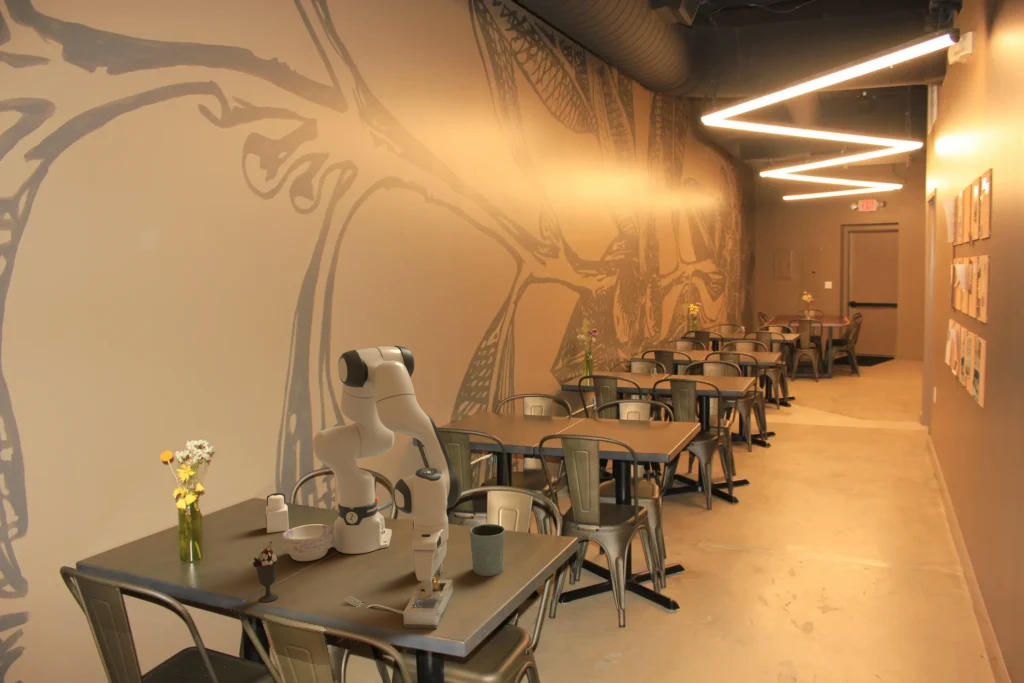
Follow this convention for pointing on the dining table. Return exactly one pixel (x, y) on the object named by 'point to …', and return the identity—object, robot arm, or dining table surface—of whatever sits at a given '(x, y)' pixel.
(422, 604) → the tan windowed box
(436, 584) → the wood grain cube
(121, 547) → the dining table surface
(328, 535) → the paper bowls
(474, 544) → the green cup
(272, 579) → the sundae
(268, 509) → the medicine bottle
